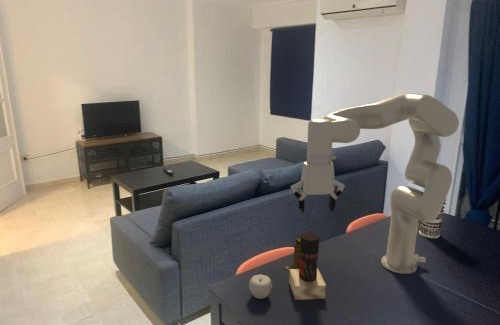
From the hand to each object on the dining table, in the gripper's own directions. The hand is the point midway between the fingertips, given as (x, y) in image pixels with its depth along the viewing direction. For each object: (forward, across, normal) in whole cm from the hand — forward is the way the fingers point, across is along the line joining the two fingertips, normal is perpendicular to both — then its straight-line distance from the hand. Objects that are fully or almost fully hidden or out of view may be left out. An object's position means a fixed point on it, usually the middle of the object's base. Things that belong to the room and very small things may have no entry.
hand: (316, 210), depth 115 cm
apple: (+28, +19, +4) cm, 34 cm away
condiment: (+29, +2, -11) cm, 31 cm away
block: (+28, +3, +2) cm, 29 cm away
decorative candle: (+30, -64, -36) cm, 79 cm away
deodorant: (+24, +2, +2) cm, 24 cm away
